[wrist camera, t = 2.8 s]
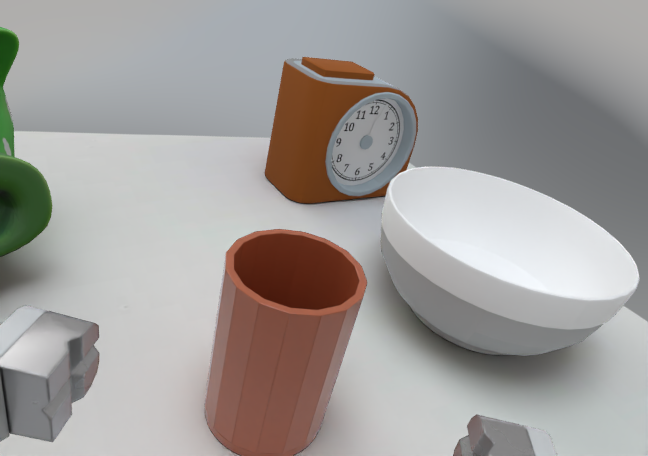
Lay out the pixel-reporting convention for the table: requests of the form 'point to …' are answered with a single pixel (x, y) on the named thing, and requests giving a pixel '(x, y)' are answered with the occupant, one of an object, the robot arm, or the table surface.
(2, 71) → the piggy bank
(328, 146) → the alarm clock
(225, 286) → the cup
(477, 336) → the bowl
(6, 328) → the robot arm
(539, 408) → the table surface
